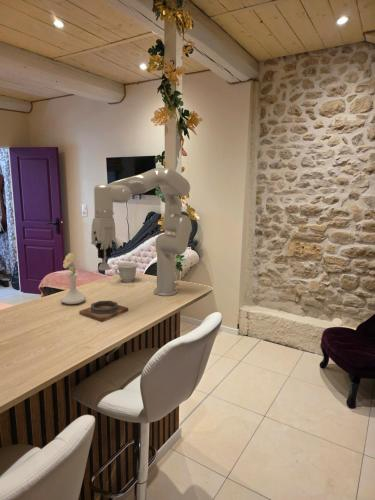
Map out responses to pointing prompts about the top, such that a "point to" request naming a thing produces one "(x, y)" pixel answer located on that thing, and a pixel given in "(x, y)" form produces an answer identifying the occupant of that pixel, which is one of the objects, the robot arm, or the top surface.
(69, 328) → the top surface
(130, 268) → the teacup
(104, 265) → the chalice
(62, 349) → the top surface
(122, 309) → the display stand
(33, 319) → the top surface
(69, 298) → the flower in vase
